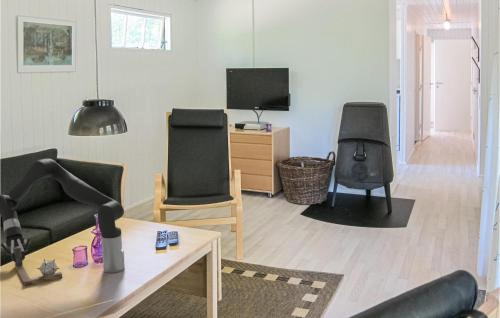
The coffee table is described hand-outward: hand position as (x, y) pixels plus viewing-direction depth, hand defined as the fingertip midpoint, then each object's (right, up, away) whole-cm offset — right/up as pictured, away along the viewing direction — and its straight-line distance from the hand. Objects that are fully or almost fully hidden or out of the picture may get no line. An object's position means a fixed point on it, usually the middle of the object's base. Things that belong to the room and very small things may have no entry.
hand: (19, 260), depth 236 cm
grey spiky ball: (+18, -6, -8) cm, 20 cm away
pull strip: (+11, -5, -4) cm, 12 cm away
